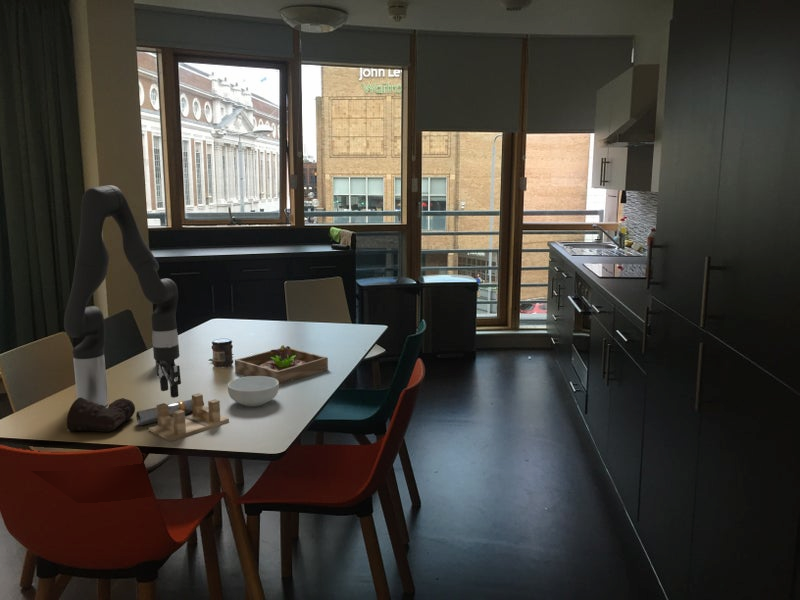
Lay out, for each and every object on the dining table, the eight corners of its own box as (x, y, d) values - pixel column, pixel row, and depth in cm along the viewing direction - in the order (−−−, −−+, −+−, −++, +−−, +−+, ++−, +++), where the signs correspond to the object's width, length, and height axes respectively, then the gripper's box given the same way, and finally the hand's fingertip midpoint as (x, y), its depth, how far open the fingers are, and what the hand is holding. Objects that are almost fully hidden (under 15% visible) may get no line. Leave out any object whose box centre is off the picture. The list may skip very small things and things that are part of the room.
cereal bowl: (256, 415, 206) (255, 393, 205) (217, 406, 214) (216, 385, 213) (289, 399, 221) (289, 379, 219) (252, 391, 228) (251, 372, 227)
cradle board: (148, 431, 192) (147, 407, 191) (206, 412, 208) (205, 390, 206) (170, 441, 185) (169, 416, 183) (229, 421, 200) (227, 398, 199)
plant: (252, 379, 244) (250, 350, 242) (264, 364, 263) (263, 338, 261) (304, 379, 243) (303, 351, 241) (313, 365, 263) (312, 338, 260)
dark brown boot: (137, 394, 202) (89, 387, 201) (119, 414, 188) (66, 406, 187) (135, 422, 205) (87, 415, 204) (116, 444, 190) (64, 436, 189)
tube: (141, 428, 195) (141, 414, 194) (136, 422, 199) (136, 409, 197) (204, 412, 208) (204, 400, 207) (198, 407, 211) (198, 395, 210)
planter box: (235, 372, 251) (234, 359, 250) (285, 358, 271) (285, 346, 270) (277, 385, 235) (277, 372, 235) (327, 369, 255) (327, 357, 254)
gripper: (145, 341, 202) (149, 391, 204) (161, 349, 191) (166, 402, 194) (169, 337, 206) (173, 386, 209) (186, 345, 196) (190, 396, 198)
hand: (169, 393), depth 201 cm, fingers open, 8 cm apart
